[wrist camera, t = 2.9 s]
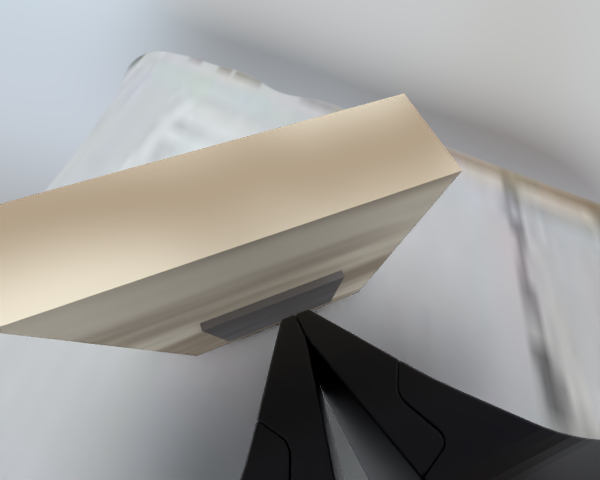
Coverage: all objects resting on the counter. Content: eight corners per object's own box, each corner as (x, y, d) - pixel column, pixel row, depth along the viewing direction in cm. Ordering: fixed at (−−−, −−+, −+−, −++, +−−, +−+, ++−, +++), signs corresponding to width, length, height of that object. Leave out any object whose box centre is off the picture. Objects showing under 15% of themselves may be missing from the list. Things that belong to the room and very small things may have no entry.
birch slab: (360, 296, 19) (469, 179, 7) (197, 360, 17) (-16, 347, 5) (339, 253, 20) (404, 93, 8) (186, 309, 18) (-8, 206, 7)
